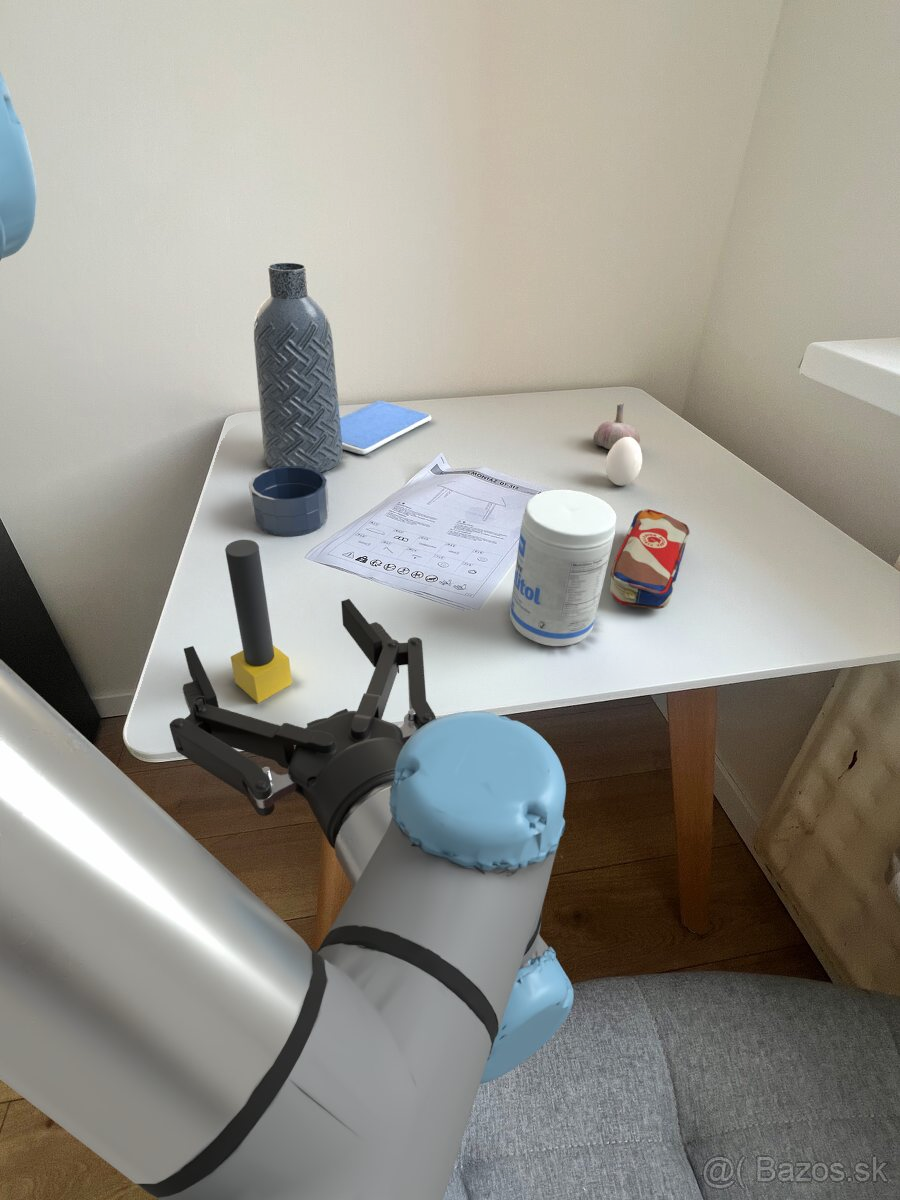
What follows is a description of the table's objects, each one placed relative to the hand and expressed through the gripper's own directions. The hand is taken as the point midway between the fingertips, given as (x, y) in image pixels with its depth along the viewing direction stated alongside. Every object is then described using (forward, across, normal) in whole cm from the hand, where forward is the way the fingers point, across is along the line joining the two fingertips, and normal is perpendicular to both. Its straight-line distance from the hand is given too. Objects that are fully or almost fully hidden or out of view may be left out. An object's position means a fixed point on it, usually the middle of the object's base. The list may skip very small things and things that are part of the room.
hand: (272, 634), depth 59 cm
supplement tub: (0, +32, -11) cm, 33 cm away
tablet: (+58, +38, -11) cm, 70 cm away
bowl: (+36, +14, -10) cm, 40 cm away
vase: (+52, +23, -11) cm, 58 cm away
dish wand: (+6, 0, -10) cm, 12 cm away
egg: (+23, +63, -11) cm, 68 cm away
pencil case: (+2, +49, -11) cm, 50 cm away
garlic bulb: (+33, +71, -11) cm, 79 cm away
